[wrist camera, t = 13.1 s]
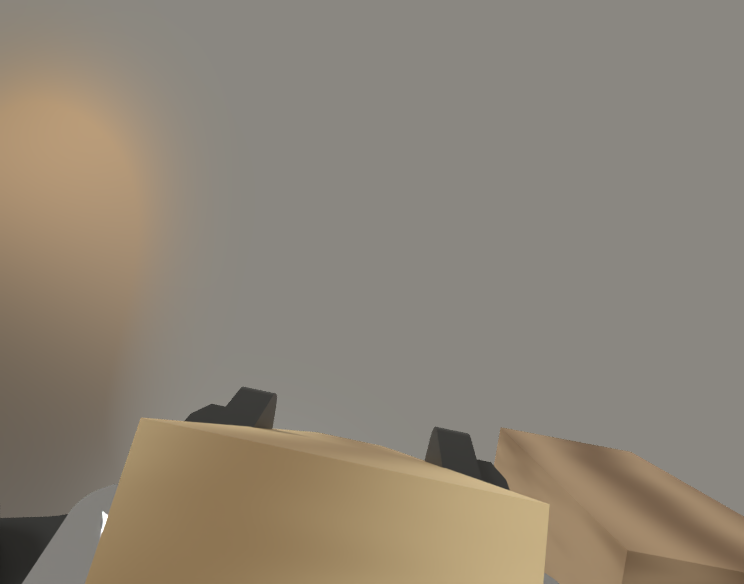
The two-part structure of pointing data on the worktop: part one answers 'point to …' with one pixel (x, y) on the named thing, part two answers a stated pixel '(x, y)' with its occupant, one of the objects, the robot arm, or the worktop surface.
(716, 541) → the stand
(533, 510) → the batten
